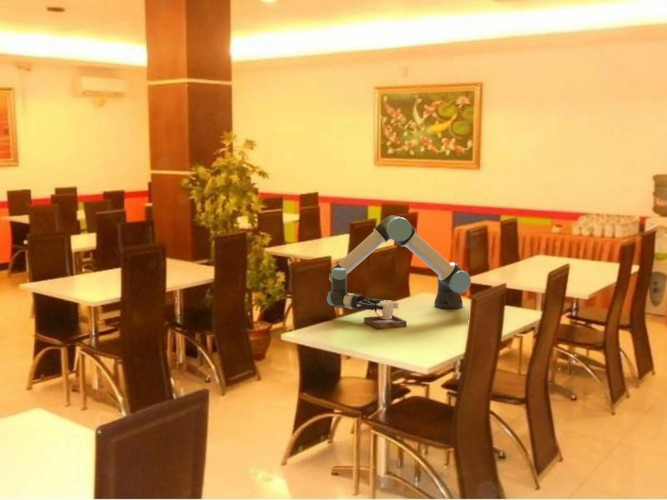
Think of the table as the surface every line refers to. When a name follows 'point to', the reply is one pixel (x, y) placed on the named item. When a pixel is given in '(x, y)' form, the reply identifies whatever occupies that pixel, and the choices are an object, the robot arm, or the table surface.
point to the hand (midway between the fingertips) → (393, 307)
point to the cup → (387, 313)
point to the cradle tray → (385, 322)
